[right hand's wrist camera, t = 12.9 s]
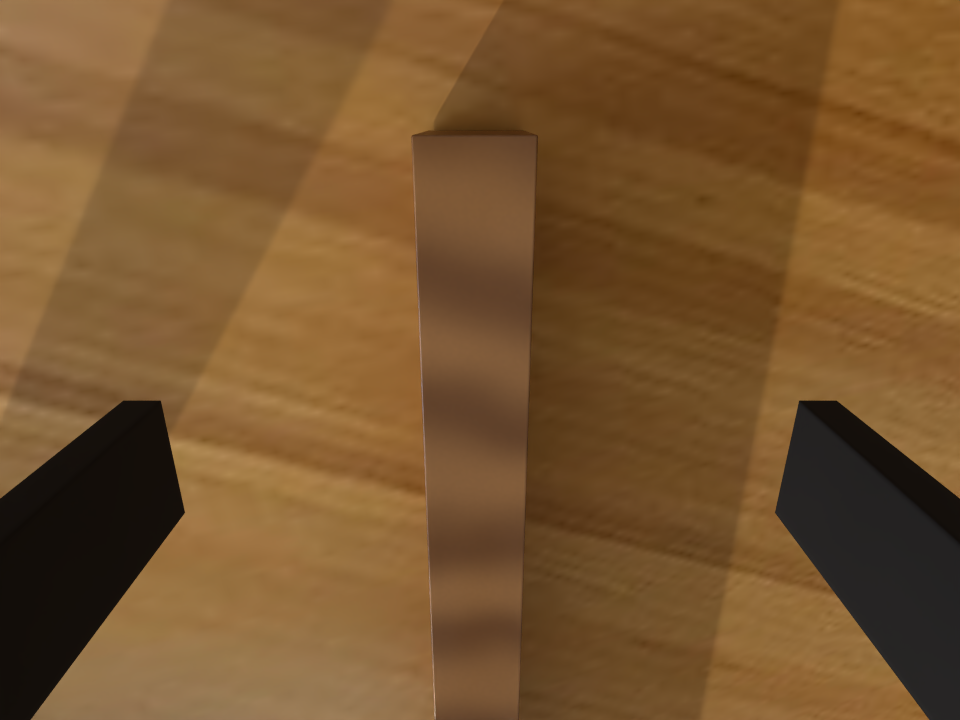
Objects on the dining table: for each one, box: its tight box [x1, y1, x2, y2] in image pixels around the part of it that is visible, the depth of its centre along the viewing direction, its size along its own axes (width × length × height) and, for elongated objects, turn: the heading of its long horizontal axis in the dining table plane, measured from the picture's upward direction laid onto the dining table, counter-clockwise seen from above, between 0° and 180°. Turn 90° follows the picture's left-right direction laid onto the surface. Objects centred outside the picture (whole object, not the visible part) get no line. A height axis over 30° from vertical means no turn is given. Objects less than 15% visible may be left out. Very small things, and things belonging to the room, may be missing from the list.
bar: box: [411, 131, 538, 720], centre depth 40 cm, size 66×5×8 cm, turn 0°
